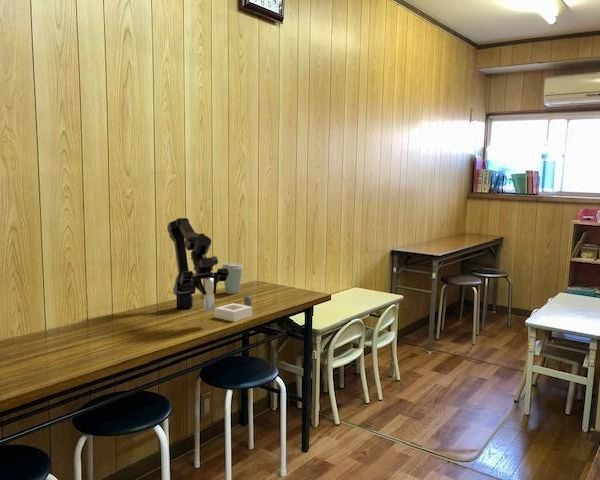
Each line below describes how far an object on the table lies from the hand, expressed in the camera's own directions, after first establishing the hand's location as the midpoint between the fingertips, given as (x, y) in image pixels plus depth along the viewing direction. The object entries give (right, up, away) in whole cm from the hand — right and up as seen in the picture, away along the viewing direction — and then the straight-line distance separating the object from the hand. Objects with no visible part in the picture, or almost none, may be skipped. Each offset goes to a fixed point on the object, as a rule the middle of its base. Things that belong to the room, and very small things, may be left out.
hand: (209, 294), depth 205 cm
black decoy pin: (+12, -10, +27) cm, 31 cm away
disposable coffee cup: (+1, -6, +62) cm, 63 cm away
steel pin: (-1, -6, +2) cm, 7 cm away
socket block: (+7, -11, +16) cm, 21 cm away
